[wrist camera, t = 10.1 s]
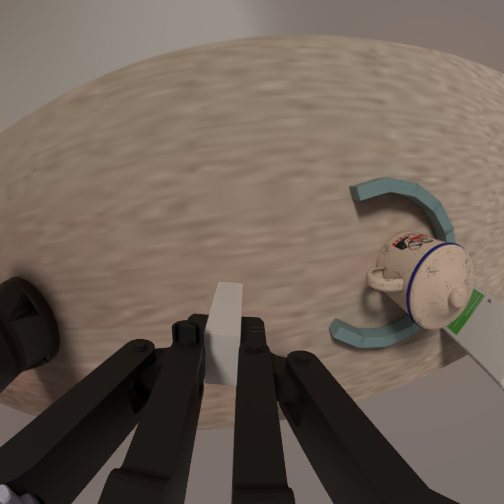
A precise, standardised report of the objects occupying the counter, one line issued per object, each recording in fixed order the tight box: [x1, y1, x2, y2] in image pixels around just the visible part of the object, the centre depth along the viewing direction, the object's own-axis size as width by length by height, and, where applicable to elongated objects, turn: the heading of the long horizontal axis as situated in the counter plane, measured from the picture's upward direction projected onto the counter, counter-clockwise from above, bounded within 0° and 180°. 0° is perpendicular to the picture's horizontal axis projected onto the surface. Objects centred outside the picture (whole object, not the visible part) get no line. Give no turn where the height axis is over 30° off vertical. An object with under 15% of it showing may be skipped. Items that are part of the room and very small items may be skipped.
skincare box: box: [442, 285, 504, 391], centre depth 25 cm, size 8×7×16 cm
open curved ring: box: [329, 177, 455, 348], centre depth 29 cm, size 16×20×2 cm
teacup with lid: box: [366, 232, 475, 330], centre depth 25 cm, size 12×9×12 cm
